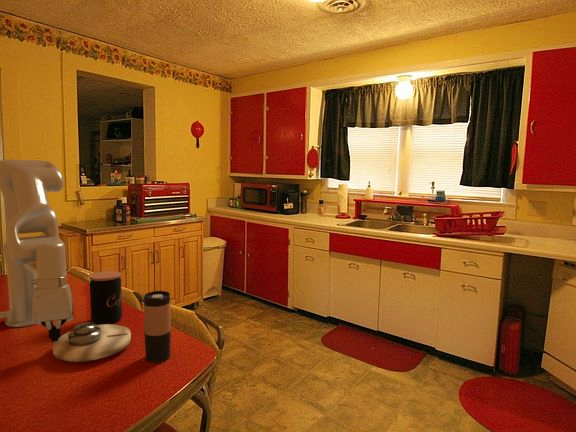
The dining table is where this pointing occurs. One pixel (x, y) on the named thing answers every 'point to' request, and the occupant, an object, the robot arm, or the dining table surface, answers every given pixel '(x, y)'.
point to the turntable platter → (94, 345)
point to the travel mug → (157, 326)
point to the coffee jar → (105, 297)
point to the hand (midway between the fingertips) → (55, 339)
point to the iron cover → (84, 334)
